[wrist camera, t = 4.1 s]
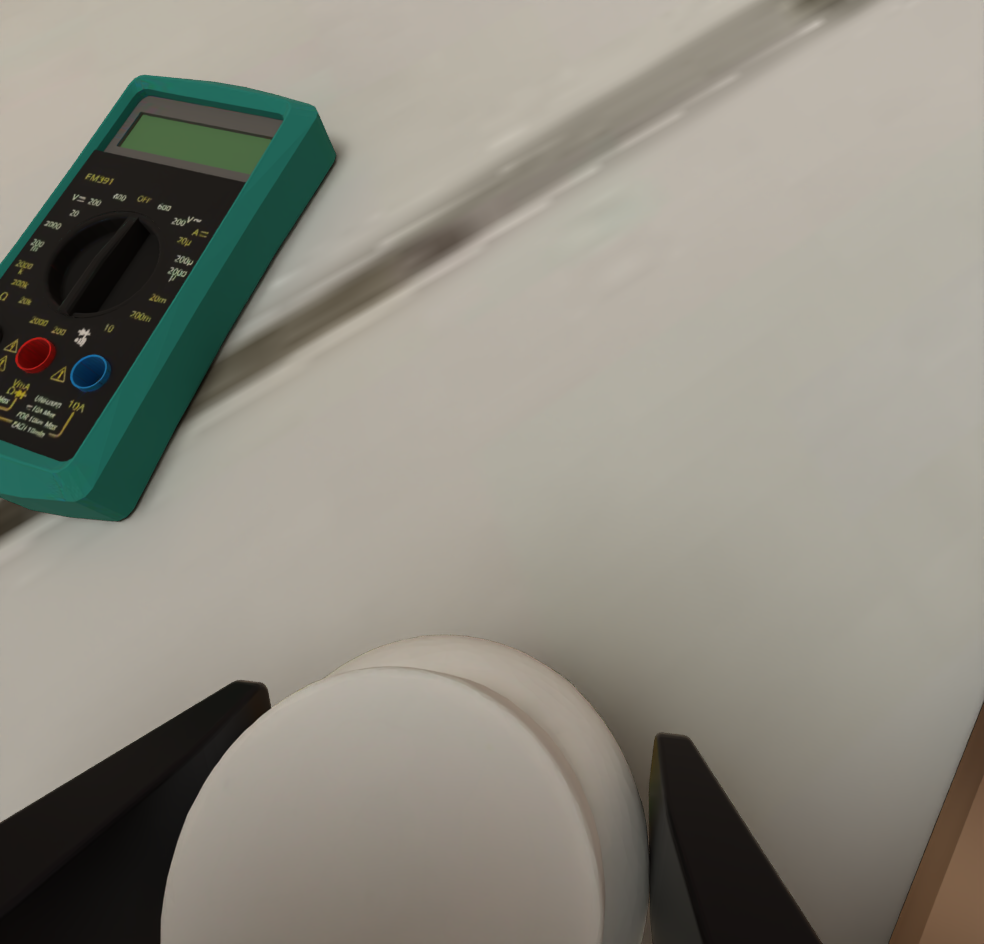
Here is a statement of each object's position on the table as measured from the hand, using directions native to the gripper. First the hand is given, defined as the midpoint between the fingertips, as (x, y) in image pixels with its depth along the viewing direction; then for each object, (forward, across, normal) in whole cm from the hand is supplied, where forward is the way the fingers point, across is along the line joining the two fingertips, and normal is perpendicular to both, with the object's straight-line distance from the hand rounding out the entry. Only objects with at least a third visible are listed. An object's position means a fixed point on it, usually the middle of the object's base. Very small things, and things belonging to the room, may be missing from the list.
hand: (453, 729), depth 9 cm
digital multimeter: (+13, +13, -3) cm, 19 cm away
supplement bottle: (+4, 0, +6) cm, 7 cm away
